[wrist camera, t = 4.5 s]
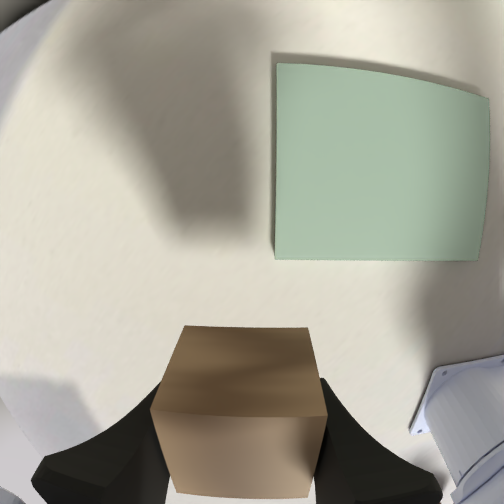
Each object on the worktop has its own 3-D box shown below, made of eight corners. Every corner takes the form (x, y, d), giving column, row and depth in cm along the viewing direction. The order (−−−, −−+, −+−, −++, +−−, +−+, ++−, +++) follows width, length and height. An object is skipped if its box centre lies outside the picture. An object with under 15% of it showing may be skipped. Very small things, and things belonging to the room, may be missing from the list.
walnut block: (307, 327, 13) (328, 415, 8) (298, 413, 14) (307, 497, 9) (184, 325, 13) (149, 409, 8) (195, 410, 14) (176, 492, 10)
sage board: (482, 99, 16) (488, 98, 15) (471, 257, 19) (477, 260, 18) (276, 66, 16) (276, 62, 15) (274, 255, 19) (274, 259, 18)
